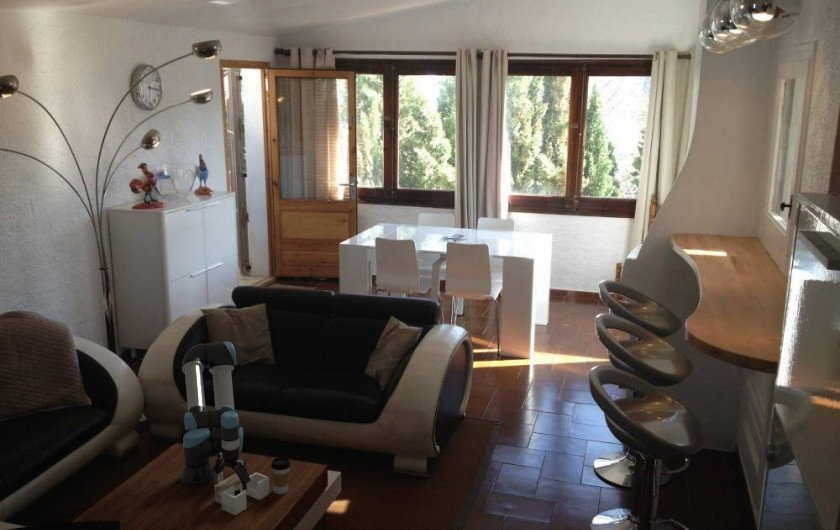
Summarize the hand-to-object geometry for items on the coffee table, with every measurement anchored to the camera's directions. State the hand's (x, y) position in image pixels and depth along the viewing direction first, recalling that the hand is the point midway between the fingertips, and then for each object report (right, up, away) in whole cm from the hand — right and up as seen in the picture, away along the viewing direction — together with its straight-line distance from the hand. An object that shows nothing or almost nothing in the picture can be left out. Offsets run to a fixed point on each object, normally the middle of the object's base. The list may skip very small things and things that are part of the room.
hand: (232, 491), depth 330 cm
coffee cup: (+21, -2, +6) cm, 21 cm away
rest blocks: (0, -2, +1) cm, 2 cm away
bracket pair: (+7, -3, -4) cm, 9 cm away
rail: (0, +1, 0) cm, 1 cm away
